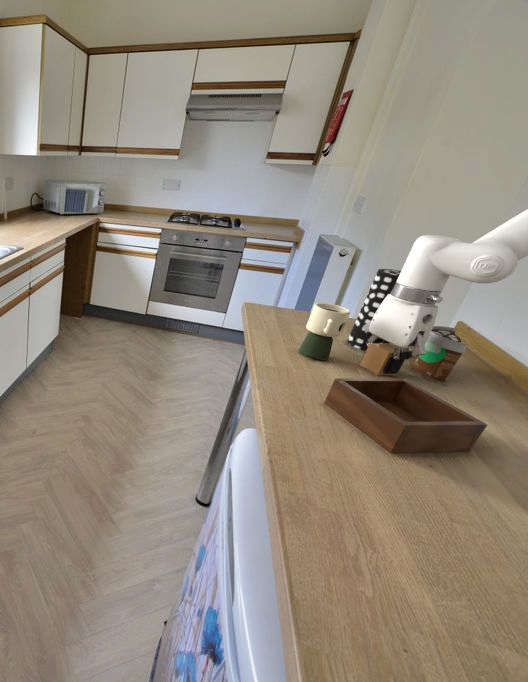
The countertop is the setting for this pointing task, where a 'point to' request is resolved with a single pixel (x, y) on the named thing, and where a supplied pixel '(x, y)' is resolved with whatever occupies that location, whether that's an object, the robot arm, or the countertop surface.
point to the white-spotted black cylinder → (372, 305)
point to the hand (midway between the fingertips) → (378, 366)
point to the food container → (440, 353)
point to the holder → (403, 415)
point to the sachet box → (377, 357)
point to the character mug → (323, 329)
